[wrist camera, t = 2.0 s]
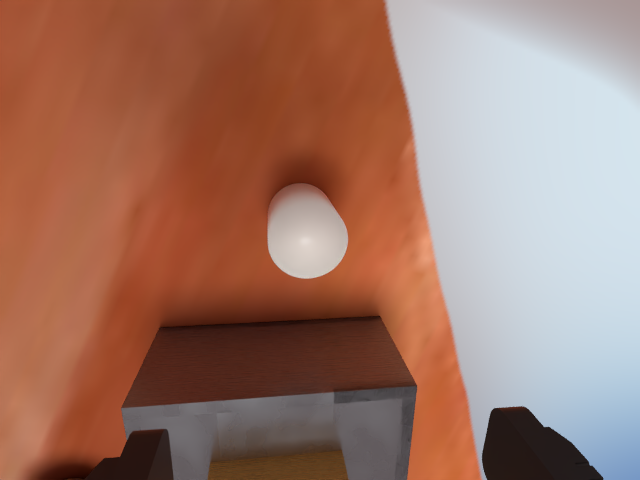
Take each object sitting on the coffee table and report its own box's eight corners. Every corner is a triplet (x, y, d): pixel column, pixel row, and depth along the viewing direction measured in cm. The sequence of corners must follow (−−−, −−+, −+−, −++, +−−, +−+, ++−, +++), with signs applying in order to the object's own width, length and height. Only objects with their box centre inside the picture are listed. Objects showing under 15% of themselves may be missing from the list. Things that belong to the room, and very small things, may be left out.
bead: (266, 183, 26) (266, 203, 21) (333, 182, 27) (349, 201, 21) (268, 246, 28) (268, 279, 22) (331, 244, 28) (346, 276, 23)
